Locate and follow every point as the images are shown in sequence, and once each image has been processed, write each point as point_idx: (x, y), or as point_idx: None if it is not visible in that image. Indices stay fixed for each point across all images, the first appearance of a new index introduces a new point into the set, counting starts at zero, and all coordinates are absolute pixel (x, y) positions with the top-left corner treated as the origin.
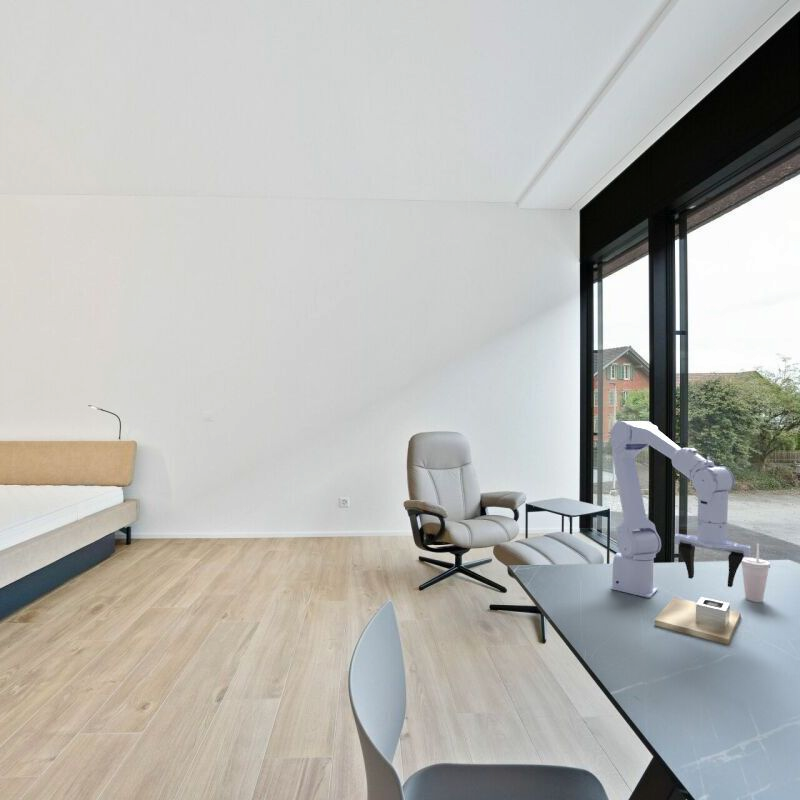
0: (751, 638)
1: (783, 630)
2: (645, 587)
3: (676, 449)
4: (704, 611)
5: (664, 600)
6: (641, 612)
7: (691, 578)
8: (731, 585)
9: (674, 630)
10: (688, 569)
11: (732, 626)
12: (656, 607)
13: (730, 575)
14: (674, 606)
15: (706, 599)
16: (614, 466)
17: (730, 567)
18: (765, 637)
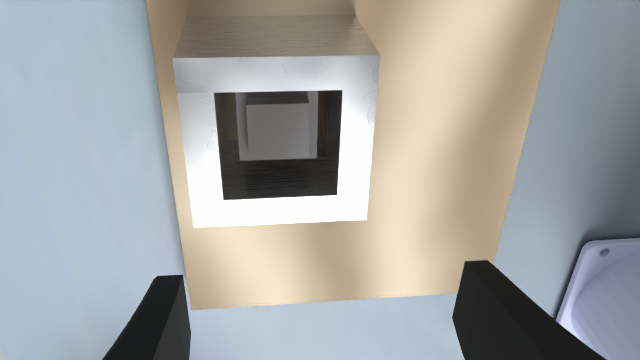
0: (69, 69)
1: (3, 276)
2: (625, 288)
3: None
4: (315, 43)
5: (516, 264)
6: (637, 28)
7: (468, 261)
8: (150, 287)
9: None
10: (529, 305)
11: (169, 100)
12: (554, 157)
13: (137, 350)
14: (479, 177)
15: (329, 196)
16: None
17: None
18: (24, 135)
